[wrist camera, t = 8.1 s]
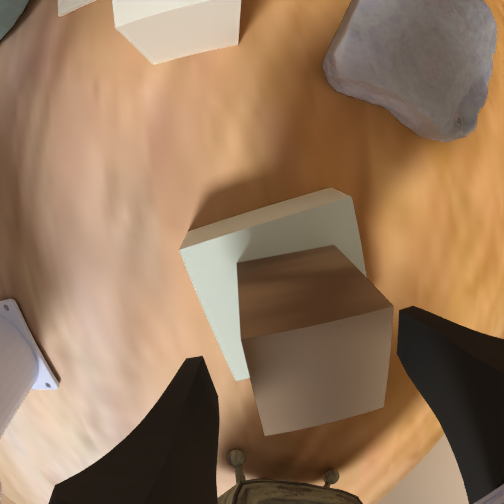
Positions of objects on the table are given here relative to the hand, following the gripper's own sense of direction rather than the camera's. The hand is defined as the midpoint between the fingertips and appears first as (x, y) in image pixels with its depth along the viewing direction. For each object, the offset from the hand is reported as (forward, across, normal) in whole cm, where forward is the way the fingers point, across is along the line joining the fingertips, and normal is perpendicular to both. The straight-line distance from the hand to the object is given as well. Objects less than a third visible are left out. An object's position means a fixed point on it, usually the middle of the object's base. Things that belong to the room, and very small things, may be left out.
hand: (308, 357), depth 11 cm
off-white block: (+8, +2, -15) cm, 17 cm away
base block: (+8, 0, 0) cm, 8 cm away
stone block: (+8, -11, -12) cm, 18 cm away
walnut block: (+5, 0, 0) cm, 5 cm away
